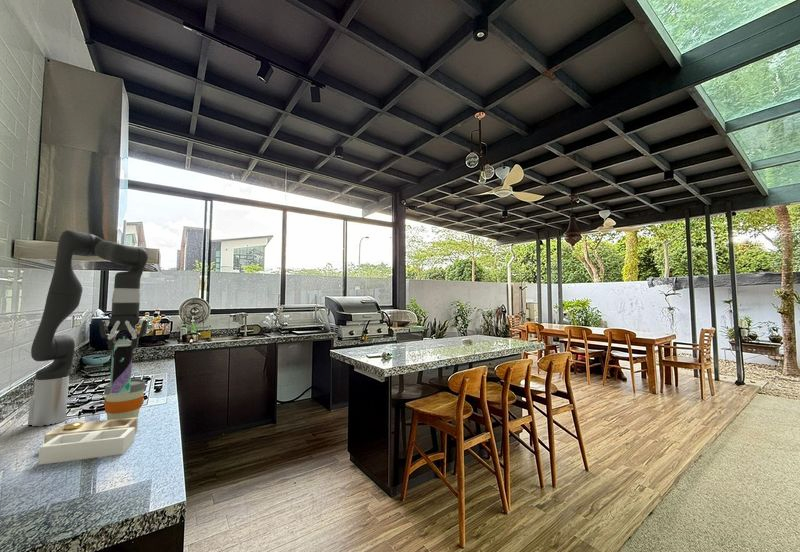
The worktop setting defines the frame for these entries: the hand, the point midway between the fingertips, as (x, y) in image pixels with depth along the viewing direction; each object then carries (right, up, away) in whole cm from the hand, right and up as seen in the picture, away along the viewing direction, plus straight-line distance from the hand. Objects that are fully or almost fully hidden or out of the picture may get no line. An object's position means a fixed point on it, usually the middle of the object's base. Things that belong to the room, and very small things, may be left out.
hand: (122, 349), depth 114 cm
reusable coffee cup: (-12, -32, +14) cm, 37 cm away
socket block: (-8, -31, -3) cm, 32 cm away
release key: (-13, -30, -5) cm, 33 cm away
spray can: (0, -15, -1) cm, 15 cm away
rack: (-1, -30, -11) cm, 32 cm away
